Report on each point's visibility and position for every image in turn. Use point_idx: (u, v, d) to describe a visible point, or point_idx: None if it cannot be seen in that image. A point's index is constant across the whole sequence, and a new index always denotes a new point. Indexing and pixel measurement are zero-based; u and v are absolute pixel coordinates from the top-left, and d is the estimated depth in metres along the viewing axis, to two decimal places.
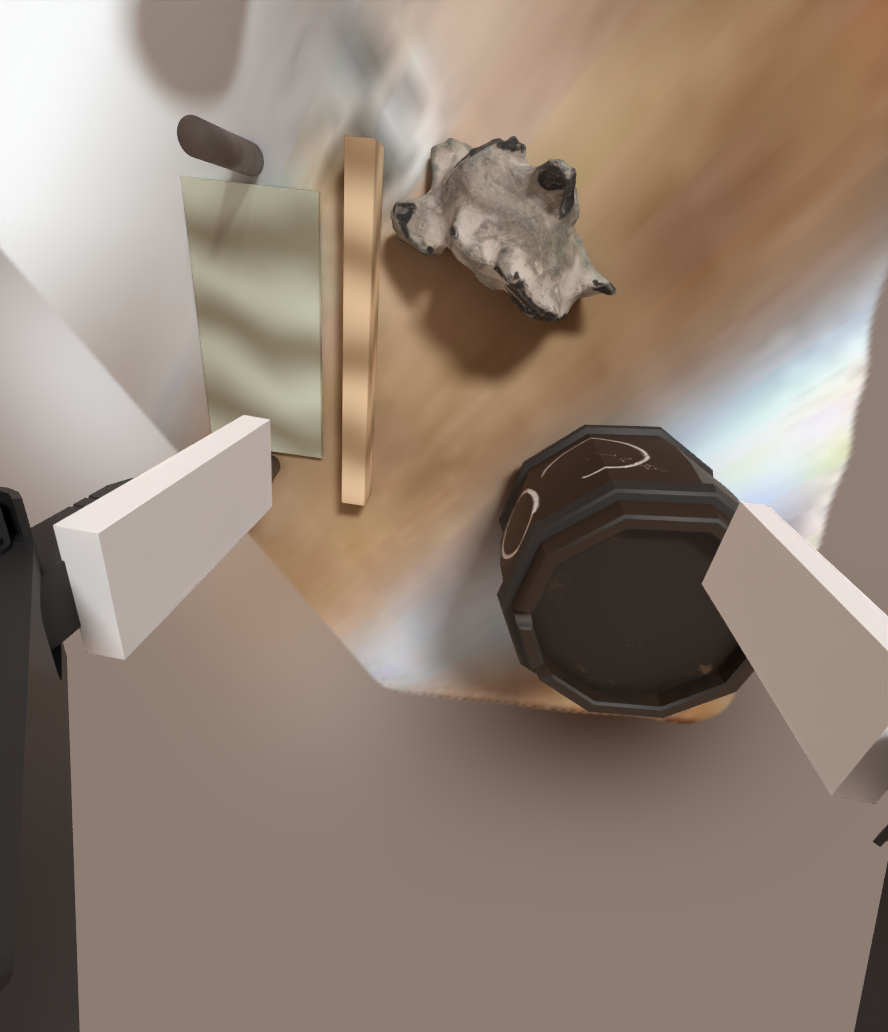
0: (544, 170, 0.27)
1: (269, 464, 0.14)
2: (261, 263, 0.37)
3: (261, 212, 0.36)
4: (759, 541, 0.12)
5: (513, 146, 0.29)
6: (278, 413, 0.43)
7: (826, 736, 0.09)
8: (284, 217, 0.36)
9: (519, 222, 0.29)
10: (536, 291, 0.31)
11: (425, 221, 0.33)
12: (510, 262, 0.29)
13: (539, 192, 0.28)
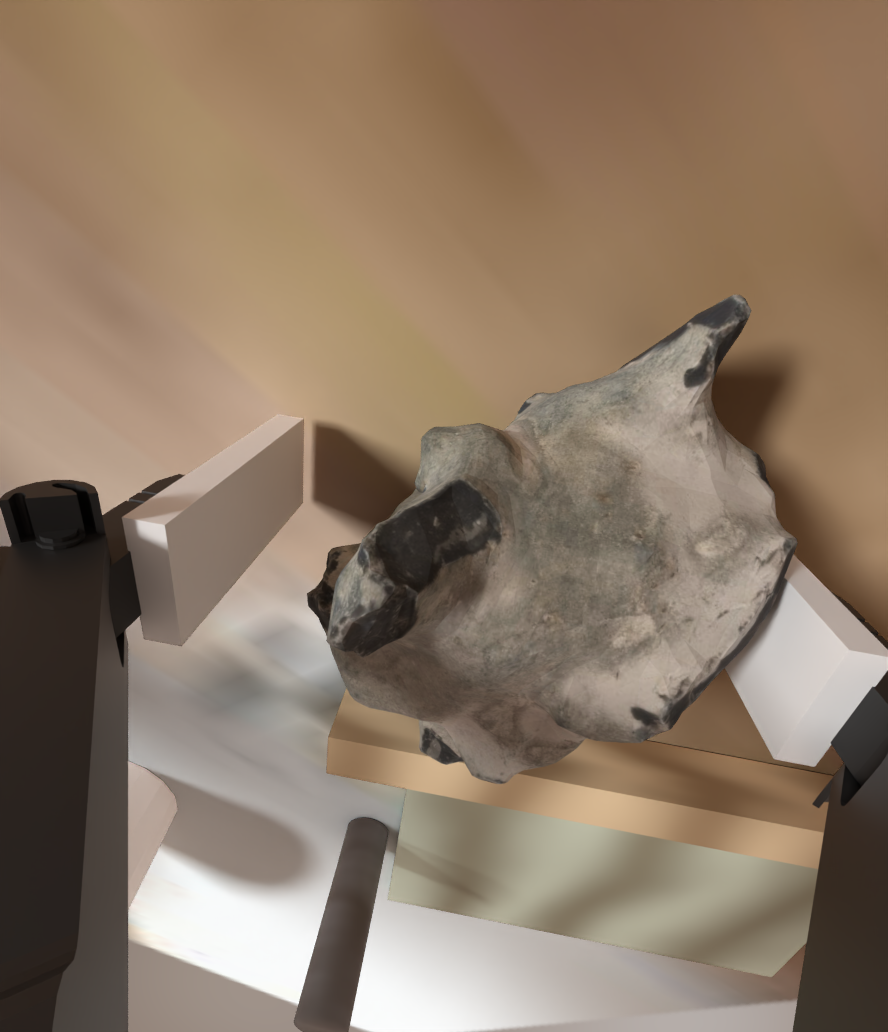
0: (357, 651, 0.08)
1: (301, 461, 0.15)
2: (502, 859, 0.23)
3: (433, 842, 0.23)
4: None
5: (323, 613, 0.11)
6: (753, 899, 0.23)
7: (771, 704, 0.10)
8: (441, 821, 0.22)
9: (492, 684, 0.09)
10: (704, 639, 0.09)
11: None
12: (598, 716, 0.09)
13: (419, 630, 0.09)
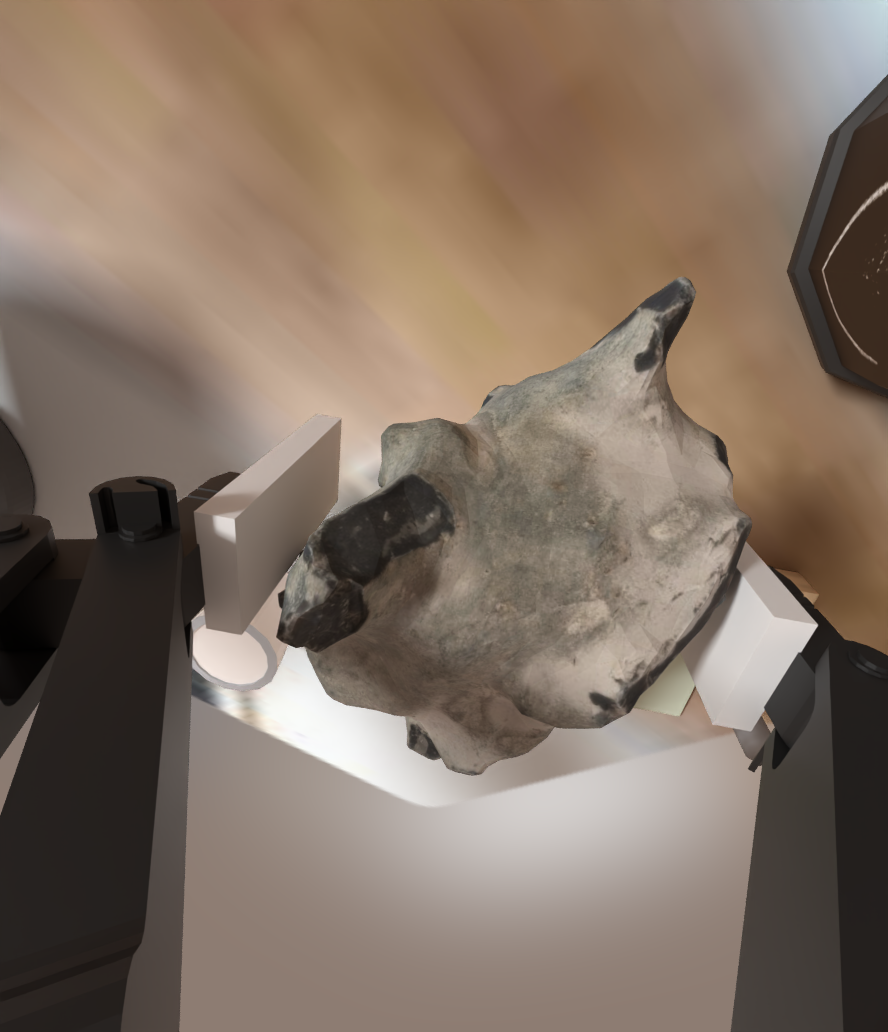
0: (308, 647, 0.08)
1: (338, 459, 0.15)
2: None
3: None
4: None
5: None
6: None
7: (712, 673, 0.10)
8: None
9: (451, 674, 0.09)
10: (659, 622, 0.09)
11: None
12: (559, 703, 0.09)
13: (374, 624, 0.09)
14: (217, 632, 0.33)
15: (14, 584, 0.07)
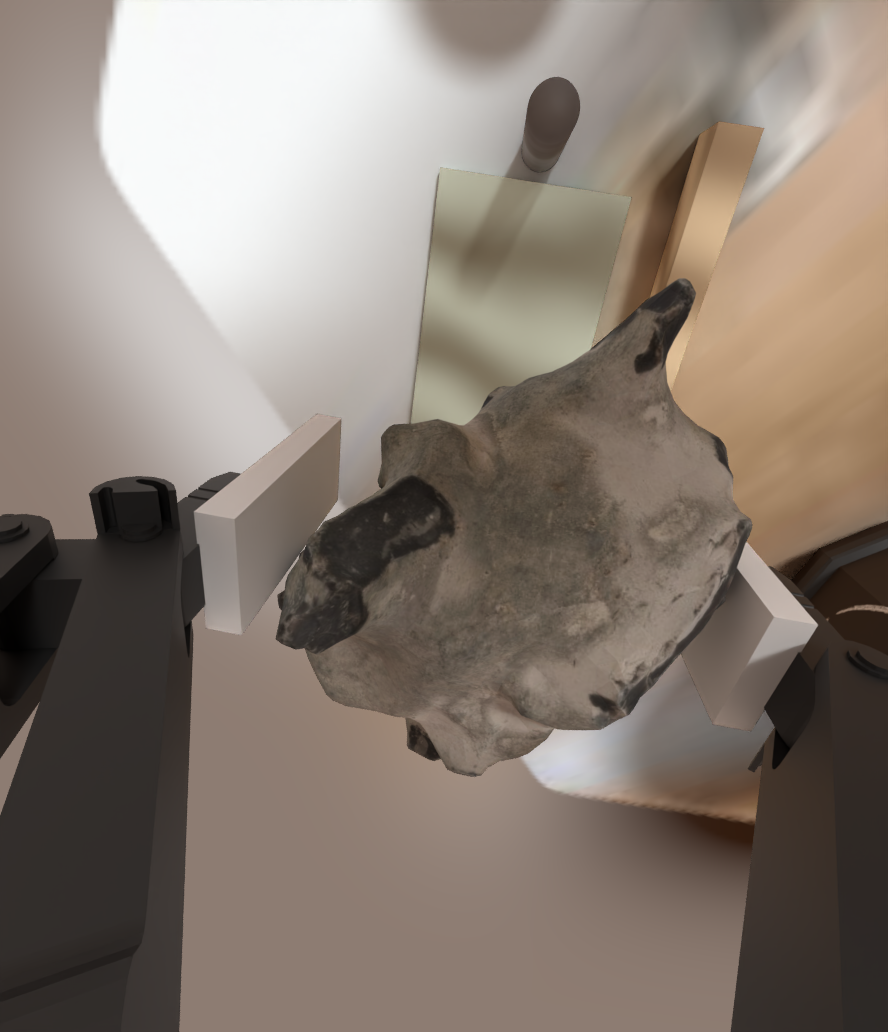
0: (308, 648, 0.08)
1: (337, 459, 0.15)
2: (525, 288, 0.28)
3: (543, 221, 0.26)
4: None
5: None
6: None
7: (712, 673, 0.10)
8: (574, 229, 0.26)
9: (452, 676, 0.09)
10: (659, 624, 0.09)
11: None
12: (559, 705, 0.09)
13: (374, 626, 0.09)
14: None
15: (14, 584, 0.07)
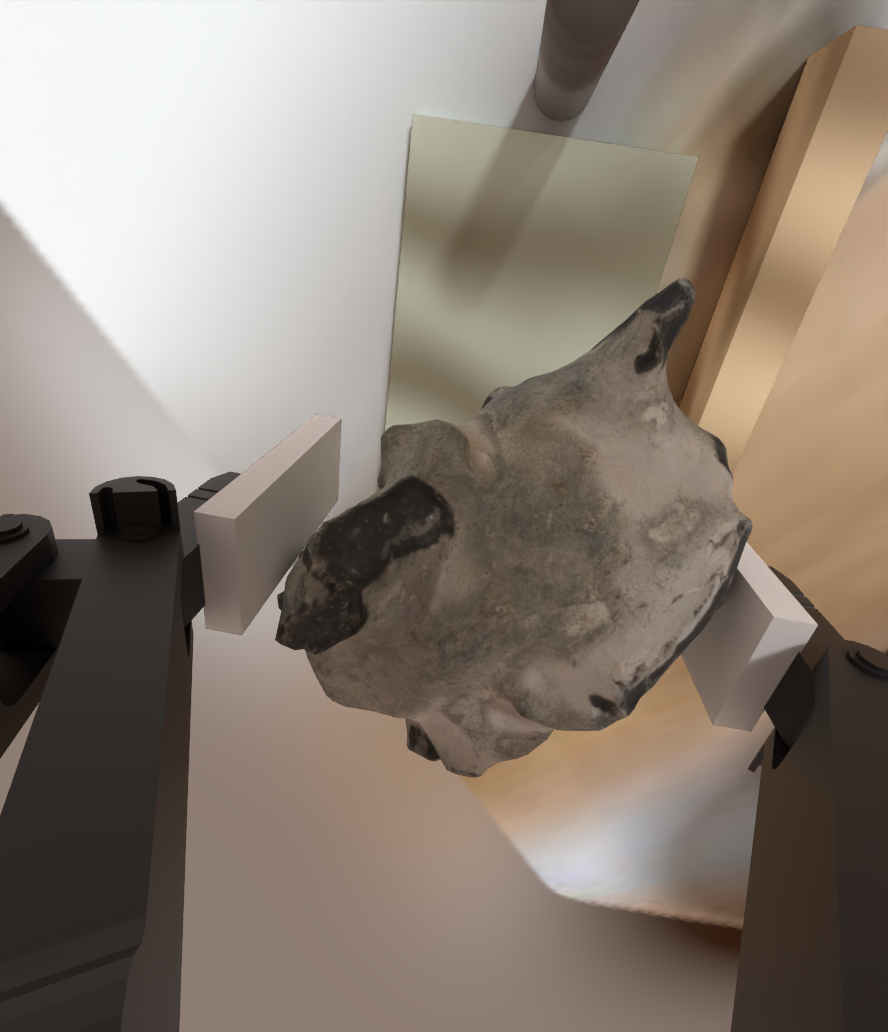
0: (308, 649, 0.08)
1: (338, 459, 0.15)
2: (537, 293, 0.20)
3: (566, 194, 0.18)
4: None
5: None
6: None
7: (712, 673, 0.10)
8: (610, 207, 0.18)
9: (452, 677, 0.09)
10: (659, 624, 0.09)
11: None
12: (558, 705, 0.09)
13: (374, 626, 0.09)
14: None
15: (14, 584, 0.07)
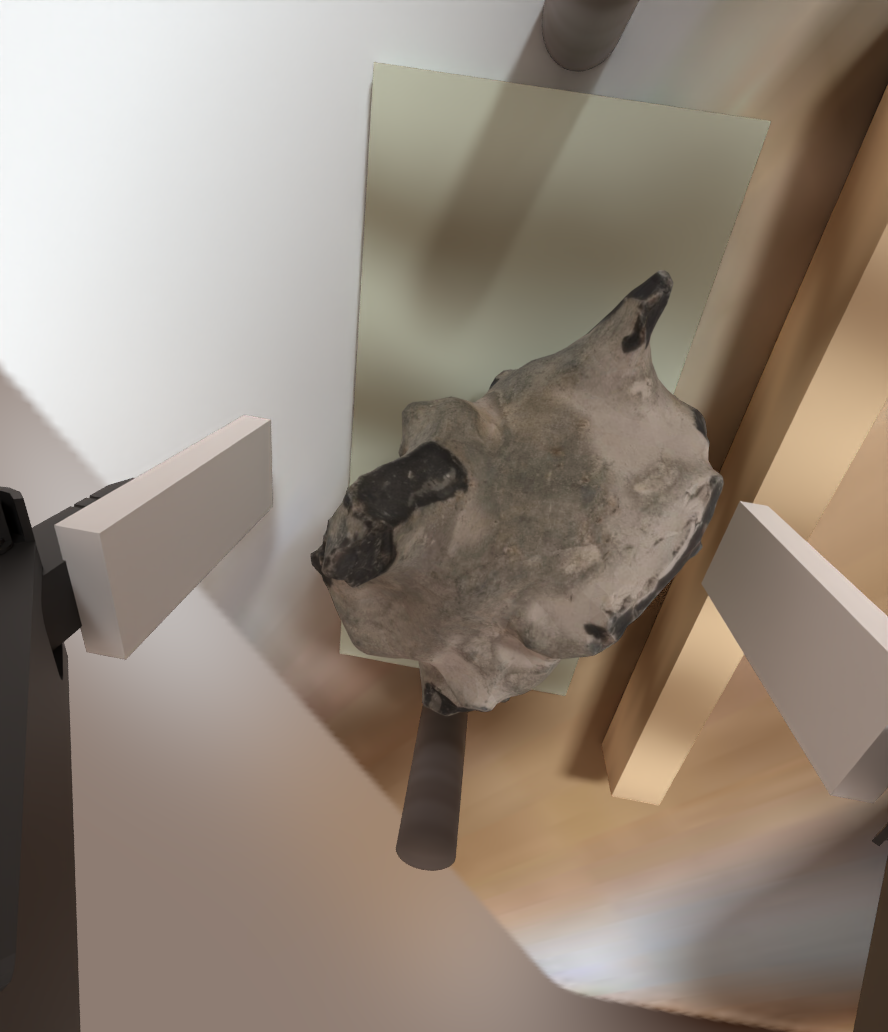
0: (347, 580, 0.10)
1: (270, 463, 0.14)
2: (545, 308, 0.15)
3: (585, 175, 0.13)
4: (759, 540, 0.12)
5: None
6: None
7: (825, 735, 0.09)
8: (646, 192, 0.13)
9: (466, 611, 0.11)
10: (643, 563, 0.10)
11: None
12: (558, 635, 0.11)
13: (400, 566, 0.11)
14: None
15: None
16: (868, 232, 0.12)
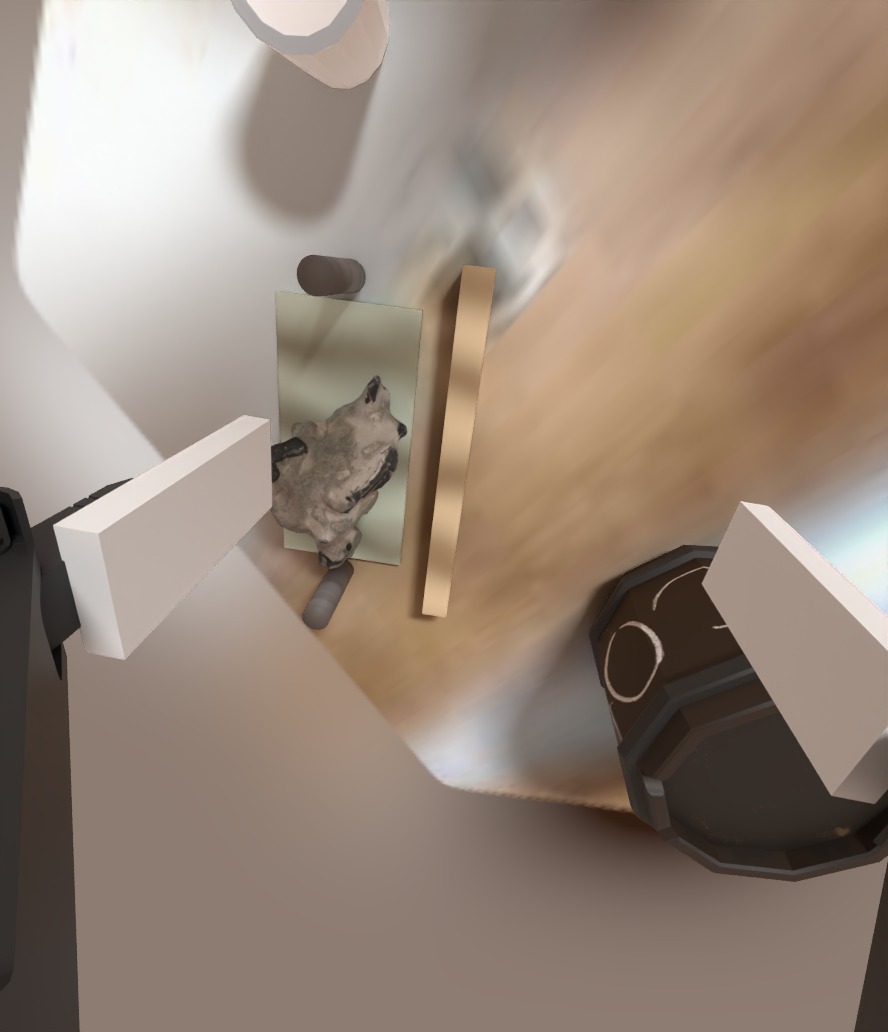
0: None
1: (269, 463, 0.14)
2: (353, 377, 0.35)
3: (359, 328, 0.34)
4: (759, 541, 0.12)
5: None
6: (358, 521, 0.40)
7: (826, 736, 0.09)
8: (383, 334, 0.34)
9: (307, 494, 0.32)
10: (364, 475, 0.31)
11: (329, 546, 0.38)
12: (339, 502, 0.32)
13: (283, 479, 0.31)
14: None
15: None
16: None
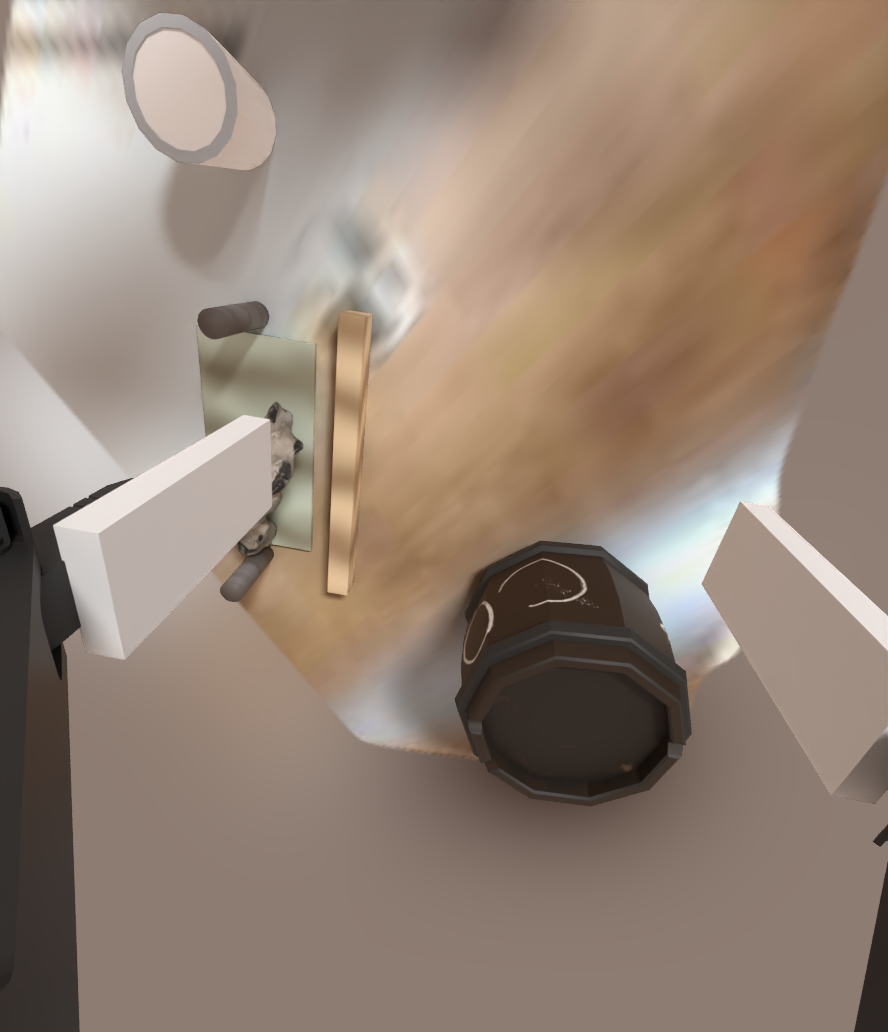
0: None
1: (269, 464, 0.14)
2: (263, 396, 0.43)
3: (265, 357, 0.41)
4: (759, 540, 0.12)
5: None
6: (274, 513, 0.48)
7: (826, 736, 0.09)
8: (285, 362, 0.42)
9: None
10: None
11: (246, 536, 0.46)
12: None
13: None
14: (208, 81, 0.28)
15: None
16: None
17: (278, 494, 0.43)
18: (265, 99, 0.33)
